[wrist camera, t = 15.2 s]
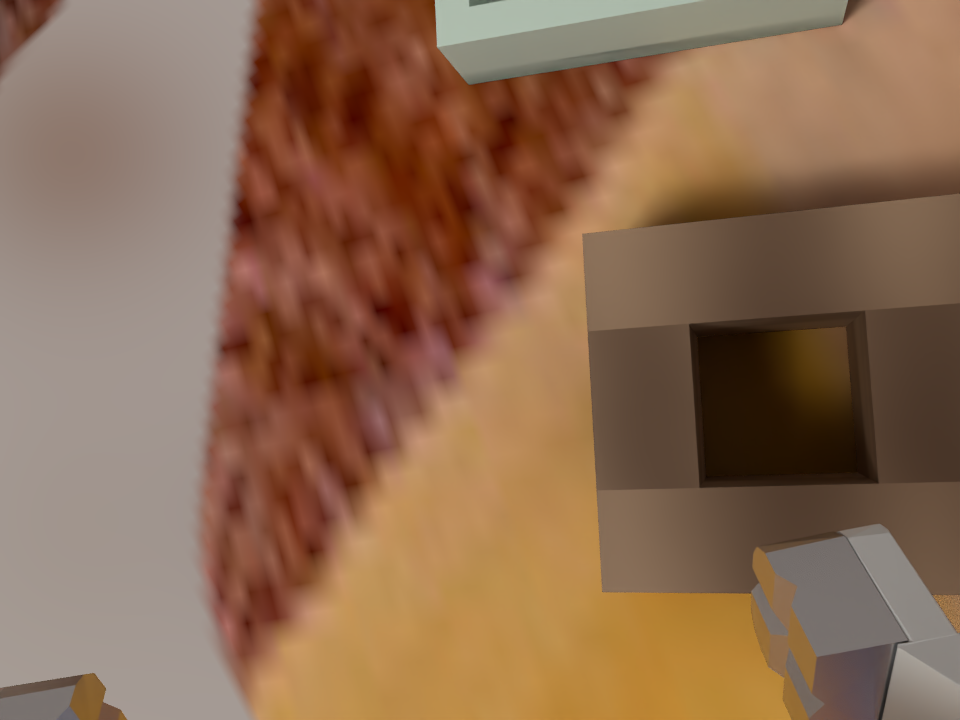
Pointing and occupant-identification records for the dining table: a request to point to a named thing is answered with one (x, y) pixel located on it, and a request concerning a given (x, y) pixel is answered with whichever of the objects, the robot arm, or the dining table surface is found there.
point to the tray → (606, 30)
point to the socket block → (768, 308)
